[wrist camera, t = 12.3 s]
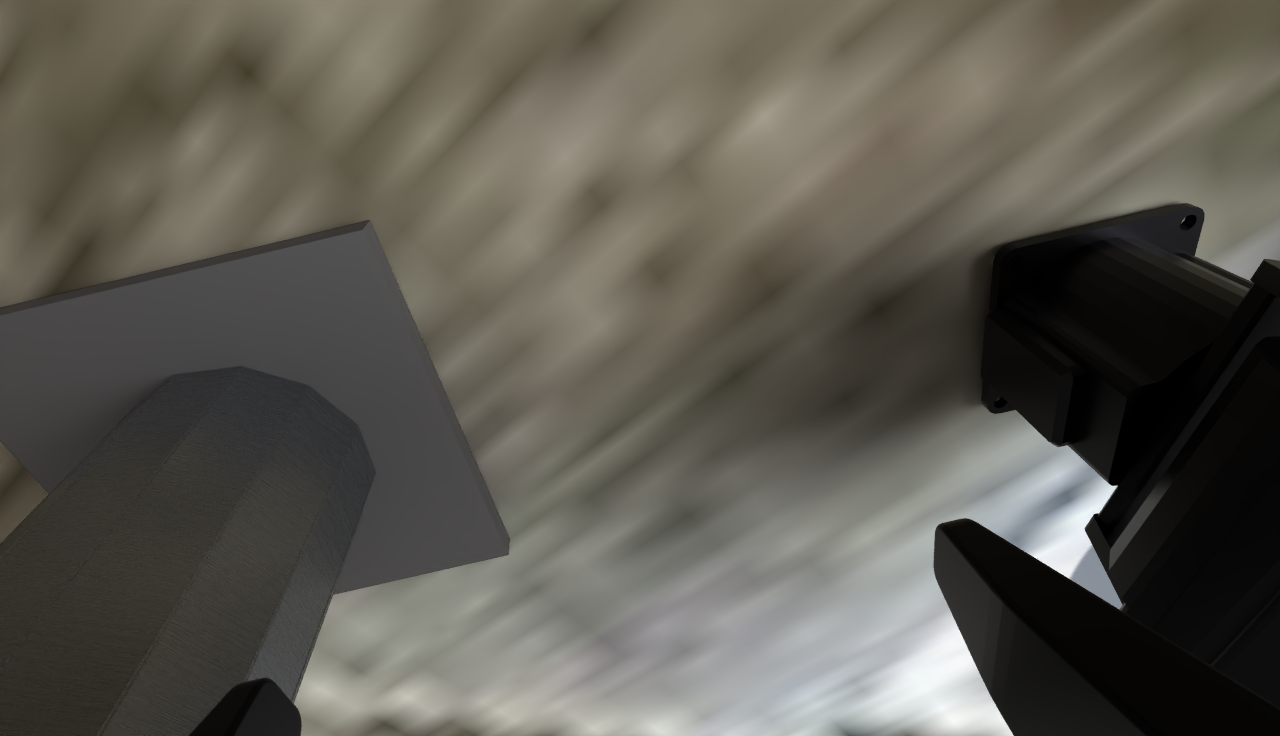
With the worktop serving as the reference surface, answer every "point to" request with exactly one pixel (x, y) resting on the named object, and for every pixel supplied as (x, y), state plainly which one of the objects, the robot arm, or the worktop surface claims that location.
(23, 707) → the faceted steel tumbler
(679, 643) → the worktop surface
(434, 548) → the rubber mat
